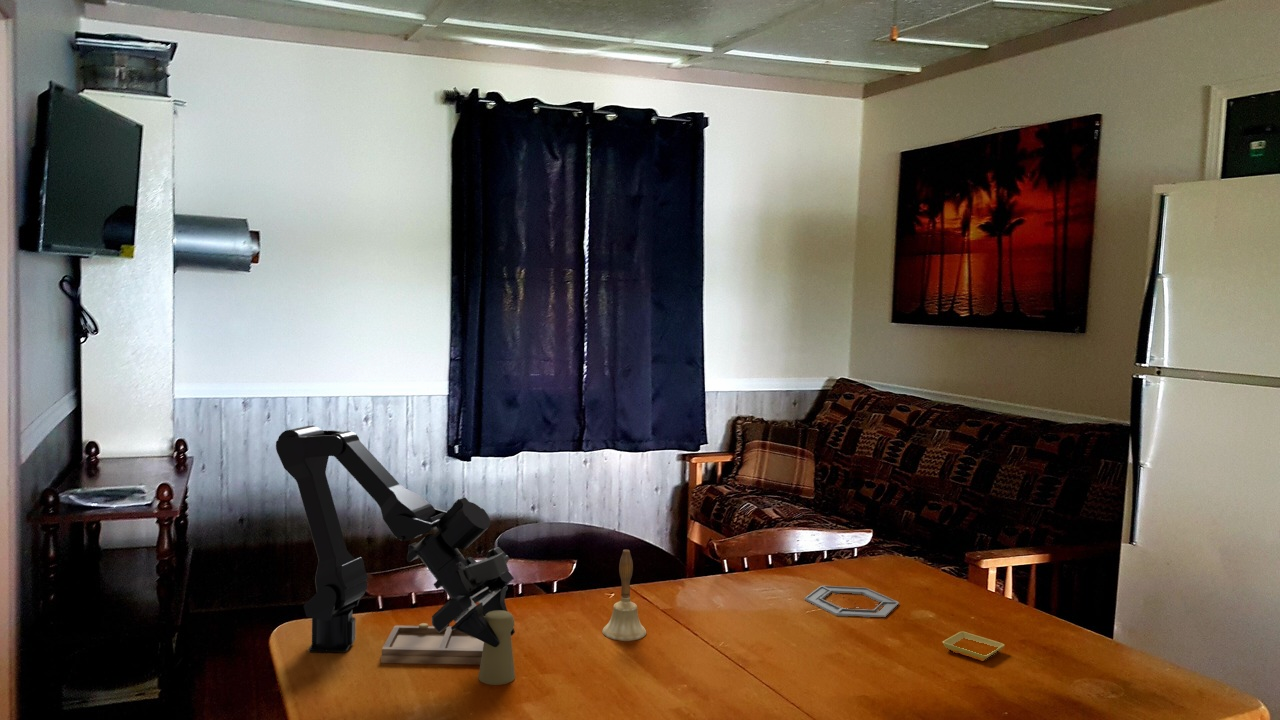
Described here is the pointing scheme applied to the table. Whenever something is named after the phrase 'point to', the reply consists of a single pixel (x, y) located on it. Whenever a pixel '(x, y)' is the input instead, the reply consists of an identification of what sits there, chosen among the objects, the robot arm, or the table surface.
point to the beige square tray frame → (957, 637)
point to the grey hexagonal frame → (824, 591)
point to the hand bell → (625, 608)
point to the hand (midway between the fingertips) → (505, 639)
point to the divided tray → (431, 646)
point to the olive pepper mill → (498, 651)
